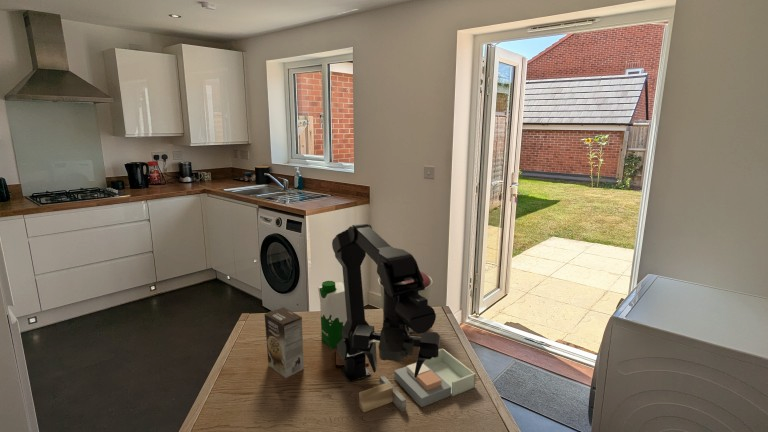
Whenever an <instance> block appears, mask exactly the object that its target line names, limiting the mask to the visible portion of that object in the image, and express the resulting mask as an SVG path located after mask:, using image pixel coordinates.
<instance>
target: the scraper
mask: <svg viewBox="0 0 768 432" xmlns="http://www.w3.org/2000/svg"><path fill="white" fill-rule="evenodd" d="M358 394H359V396H358V397H359V399H358V401H359V402H358V405H359V408H360V409H361V411H362V412H363V413H367V412H368V411H371V410H374V409H376V408H380V407H382V406H385V405H387V404H390V403H393V404H394V405H395V406H396V407H397V408H398V410H400V412H402V413H403V412H405V411H407V398H405V397H404V395H402V393H400V392H399V390H398V389H397V388H396V387H395V386H394V385H393V384H392V383H391V382H390V380H389V379H388V378H387V377H386V376H385V375H381V376H379V385H377V386H374V387H371V388H368V389H366V390H361V391H360V392H359V393H358Z"/></svg>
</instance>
